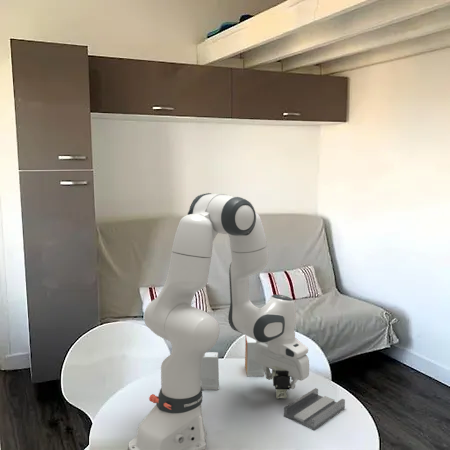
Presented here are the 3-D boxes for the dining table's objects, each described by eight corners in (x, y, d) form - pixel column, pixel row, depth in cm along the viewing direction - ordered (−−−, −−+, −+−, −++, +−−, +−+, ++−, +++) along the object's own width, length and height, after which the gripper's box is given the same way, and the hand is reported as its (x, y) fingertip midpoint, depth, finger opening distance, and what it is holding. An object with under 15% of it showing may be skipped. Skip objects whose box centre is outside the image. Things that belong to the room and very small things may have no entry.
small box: (244, 367, 190) (245, 333, 188) (261, 366, 190) (262, 333, 188) (246, 376, 182) (247, 342, 180) (264, 376, 182) (264, 342, 180)
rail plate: (314, 430, 149) (314, 420, 148) (283, 416, 156) (284, 407, 156) (344, 408, 161) (345, 399, 160) (315, 396, 168) (315, 388, 168)
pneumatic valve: (286, 388, 174) (287, 354, 172) (289, 405, 162) (290, 370, 161) (270, 387, 174) (271, 354, 172) (272, 405, 163) (273, 369, 161)
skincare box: (218, 384, 176) (219, 351, 174) (218, 390, 172) (218, 356, 170) (201, 384, 176) (201, 351, 175) (200, 390, 172) (200, 356, 170)
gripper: (250, 337, 170) (250, 376, 172) (301, 355, 156) (299, 397, 158) (262, 332, 175) (261, 370, 177) (312, 349, 161) (311, 390, 163)
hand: (280, 383), depth 168 cm, fingers open, 8 cm apart
